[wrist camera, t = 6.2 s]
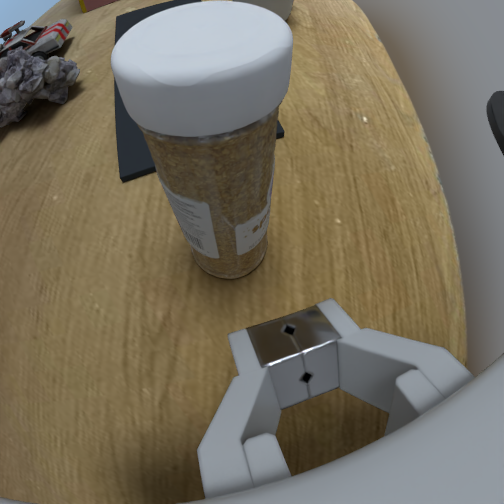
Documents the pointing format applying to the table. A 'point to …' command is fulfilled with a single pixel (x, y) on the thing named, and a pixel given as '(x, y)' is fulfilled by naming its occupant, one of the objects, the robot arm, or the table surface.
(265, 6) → the cup
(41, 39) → the toy car
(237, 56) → the sprinkles bottle
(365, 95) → the table surface
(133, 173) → the mat
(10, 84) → the mineral specimen
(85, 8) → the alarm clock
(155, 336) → the table surface
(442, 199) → the table surface
